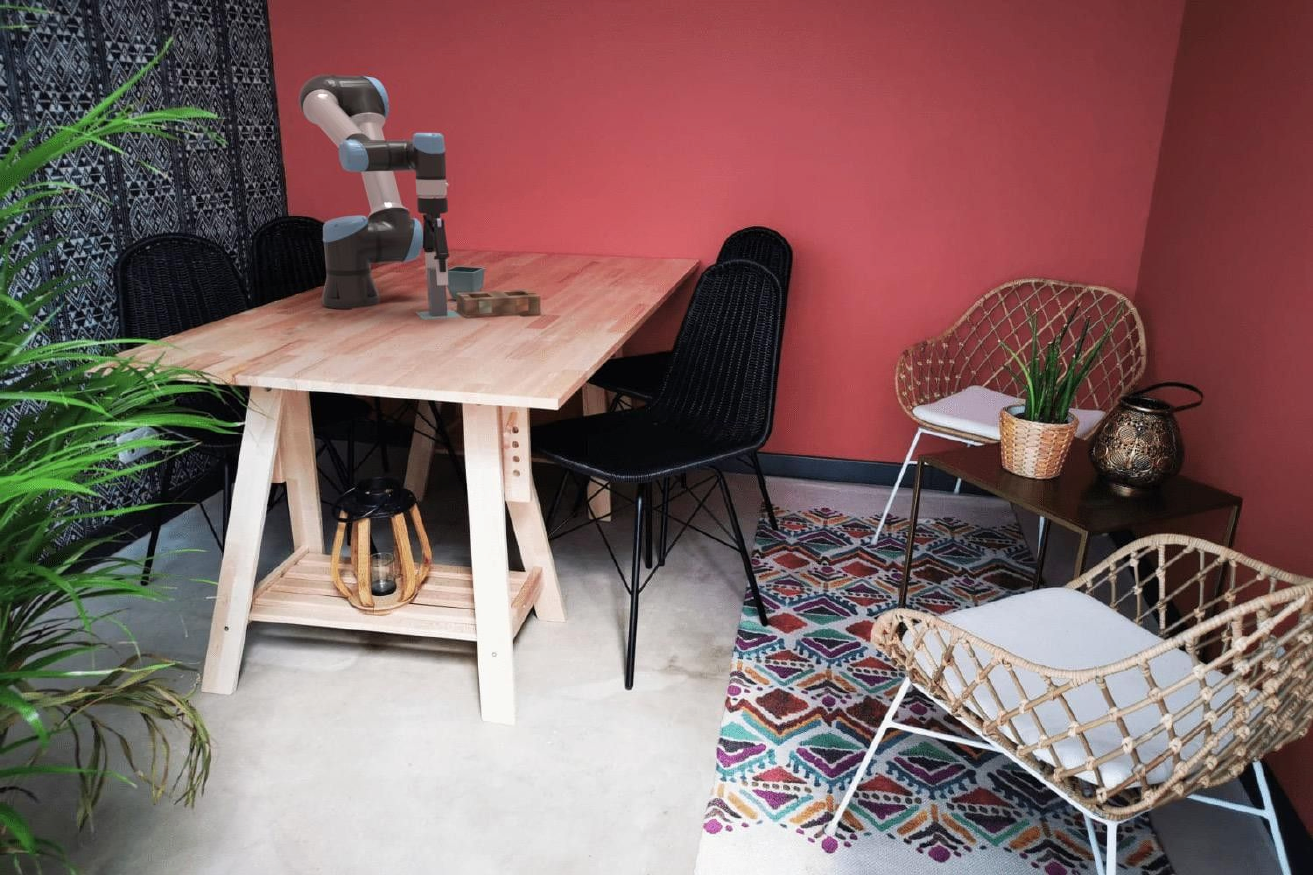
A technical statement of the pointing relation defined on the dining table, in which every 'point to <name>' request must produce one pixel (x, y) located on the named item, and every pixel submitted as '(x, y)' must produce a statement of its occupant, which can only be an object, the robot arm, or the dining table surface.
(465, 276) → the flower pot
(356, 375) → the dining table surface
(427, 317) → the mat
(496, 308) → the socket block
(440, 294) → the plug
